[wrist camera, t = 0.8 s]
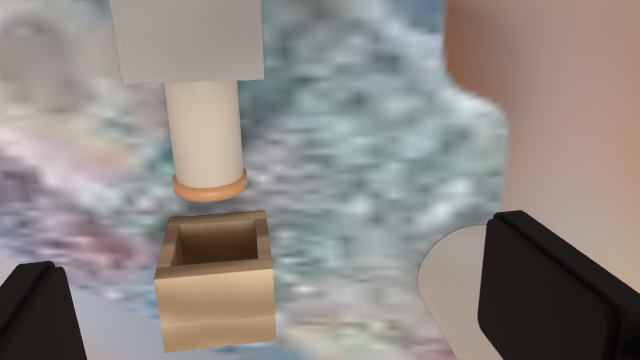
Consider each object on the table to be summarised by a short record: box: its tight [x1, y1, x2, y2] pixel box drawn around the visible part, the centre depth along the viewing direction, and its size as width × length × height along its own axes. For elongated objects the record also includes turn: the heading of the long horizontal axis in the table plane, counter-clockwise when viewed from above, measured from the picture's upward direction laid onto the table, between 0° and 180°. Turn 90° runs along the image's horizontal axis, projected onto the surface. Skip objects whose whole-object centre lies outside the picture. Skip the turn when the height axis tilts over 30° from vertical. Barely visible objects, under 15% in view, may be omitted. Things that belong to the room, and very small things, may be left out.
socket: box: [154, 211, 276, 353], centre depth 34 cm, size 6×7×8 cm
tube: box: [164, 80, 247, 202], centre depth 28 cm, size 15×5×5 cm, turn 0°
